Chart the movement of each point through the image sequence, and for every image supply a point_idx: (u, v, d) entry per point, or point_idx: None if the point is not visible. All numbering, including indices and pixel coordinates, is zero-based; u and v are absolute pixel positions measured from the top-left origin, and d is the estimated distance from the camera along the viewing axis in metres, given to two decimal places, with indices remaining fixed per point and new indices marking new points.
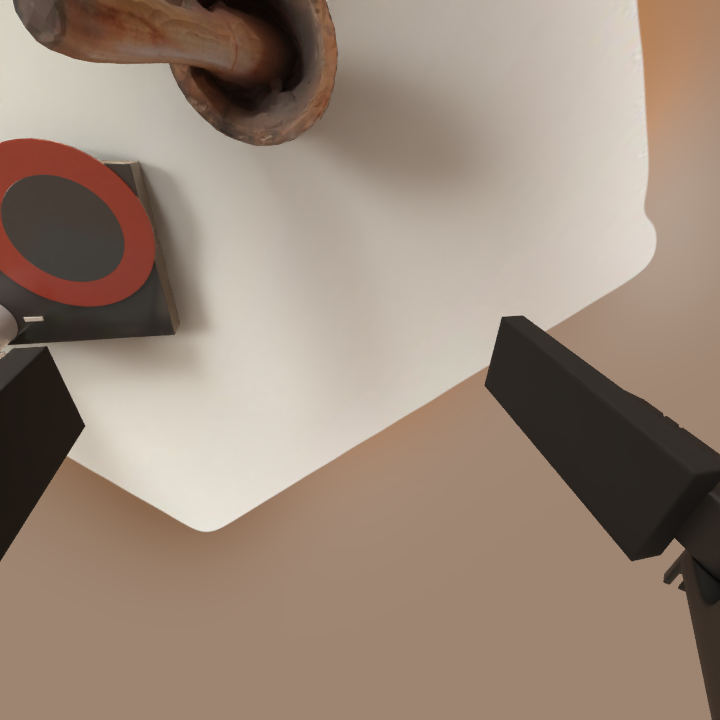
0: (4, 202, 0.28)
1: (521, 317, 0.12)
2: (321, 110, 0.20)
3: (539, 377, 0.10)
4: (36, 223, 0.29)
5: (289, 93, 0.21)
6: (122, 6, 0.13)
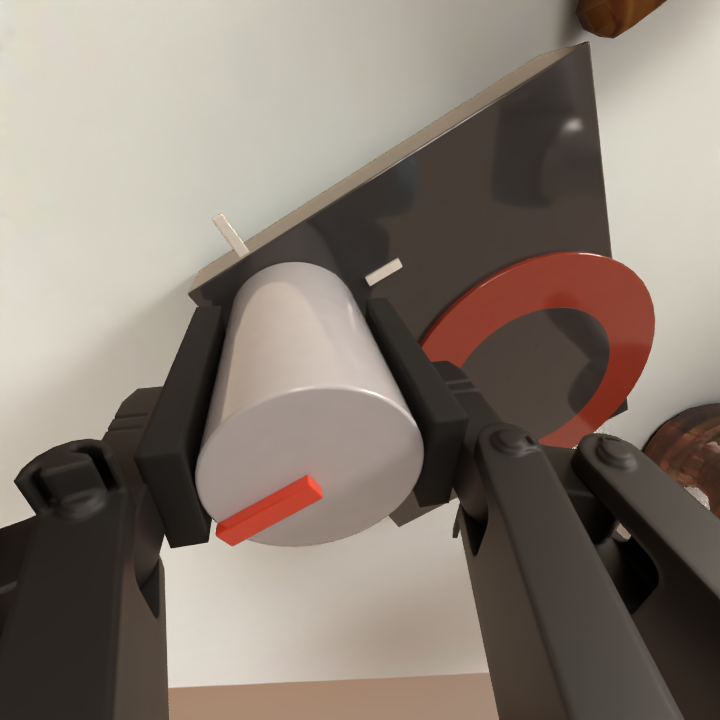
0: (560, 310, 0.16)
1: (384, 299, 0.13)
2: None
3: (381, 351, 0.11)
4: (535, 353, 0.17)
5: None
6: None
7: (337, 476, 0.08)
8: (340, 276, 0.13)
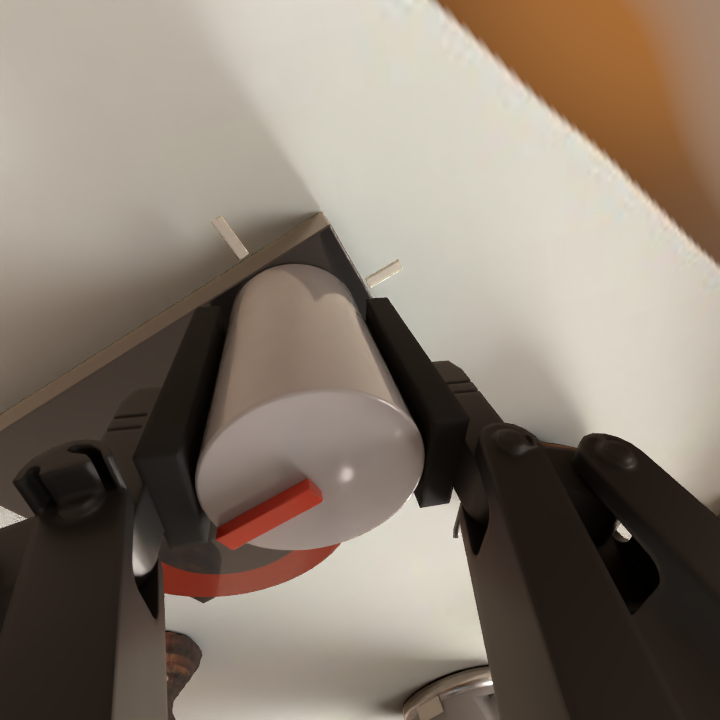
0: None
1: (384, 299, 0.13)
2: None
3: (381, 351, 0.11)
4: None
5: None
6: None
7: (337, 479, 0.08)
8: None
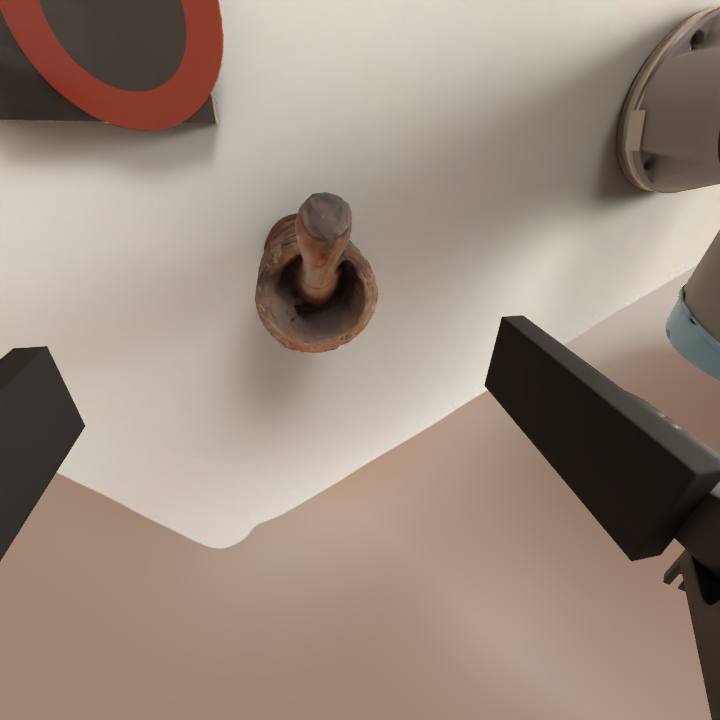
0: None
1: (521, 317, 0.12)
2: (287, 345, 0.27)
3: (538, 377, 0.10)
4: None
5: (295, 312, 0.28)
6: (329, 260, 0.19)
7: None
8: None
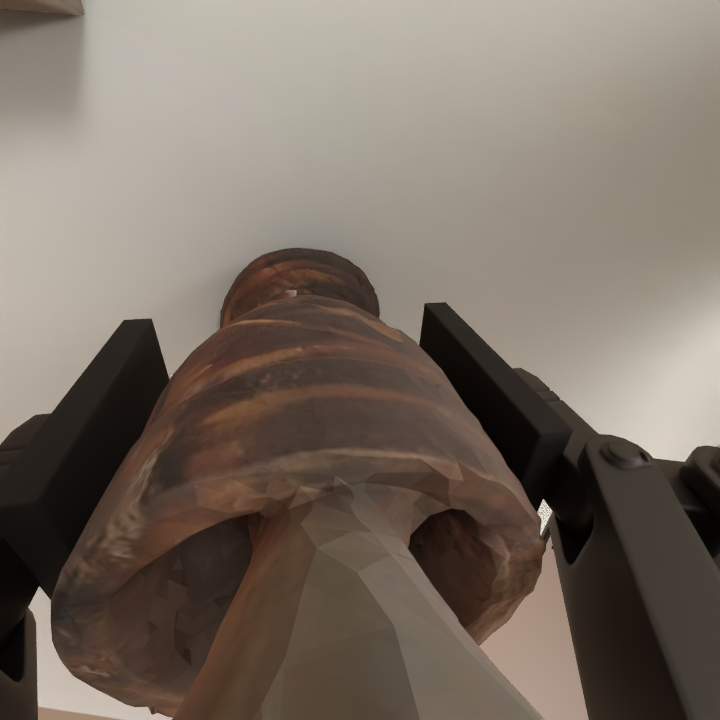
0: None
1: (443, 304, 0.13)
2: None
3: (448, 357, 0.11)
4: None
5: None
6: None
7: None
8: None
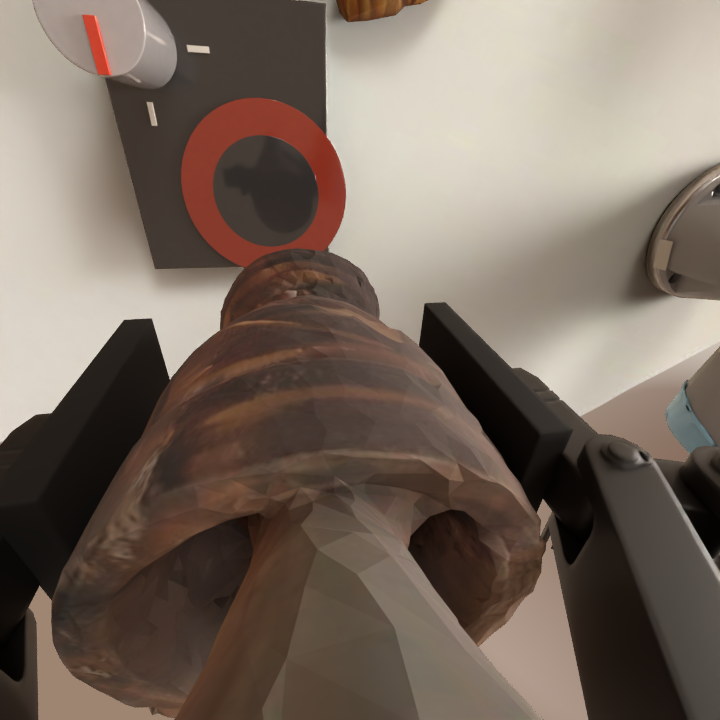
0: (292, 148, 0.29)
1: (443, 304, 0.13)
2: None
3: (448, 357, 0.11)
4: (274, 170, 0.29)
5: None
6: None
7: (92, 5, 0.18)
8: (173, 34, 0.24)
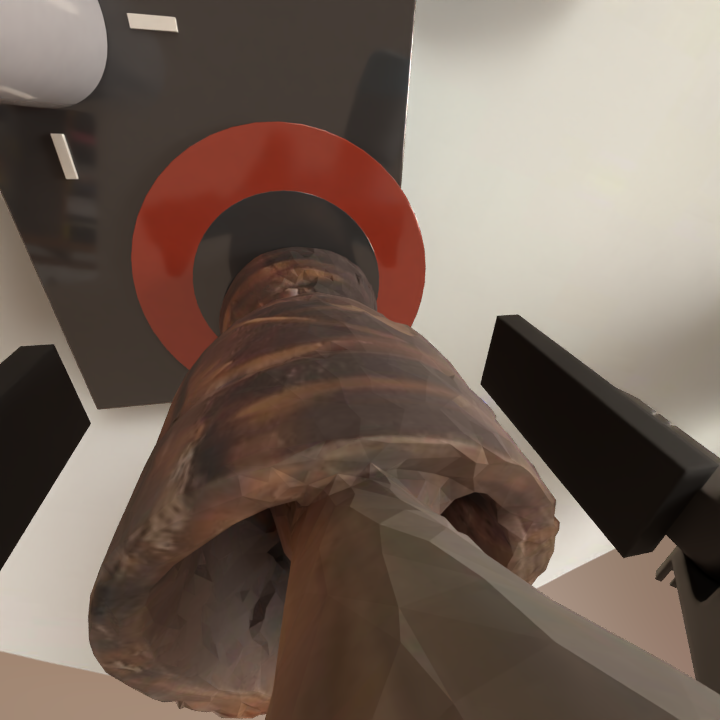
0: (339, 212, 0.16)
1: (516, 316, 0.12)
2: (238, 716, 0.08)
3: (533, 375, 0.10)
4: None
5: (270, 571, 0.09)
6: None
7: None
8: None
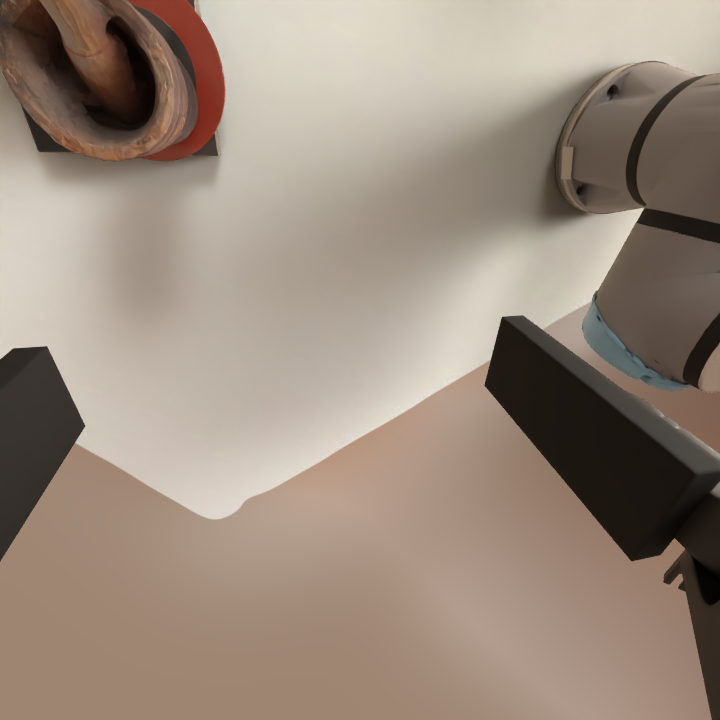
0: (160, 21, 0.29)
1: (521, 317, 0.12)
2: (62, 142, 0.22)
3: (538, 377, 0.10)
4: None
5: (83, 112, 0.23)
6: None
7: None
8: None
